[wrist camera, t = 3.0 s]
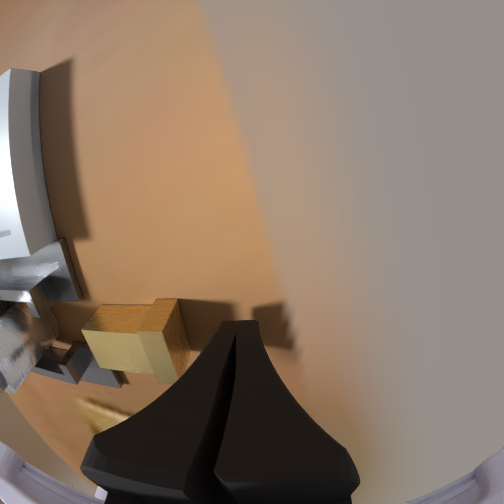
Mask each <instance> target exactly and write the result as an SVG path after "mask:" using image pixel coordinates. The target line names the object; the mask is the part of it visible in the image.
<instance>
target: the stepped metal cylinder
mask: <svg viewBox="0 0 504 504" xmlns="http://www.w3.org/2000/svg"><path fill="white" fill-rule="evenodd" d="M59 333H60V329H59V324H58V321H57V319H56V317H55V315H54V313H53V312H52V310H51V309H50V308H49V309H48V310H47V311H46V312H45V313H44V314H43V315H42V316H41V317H40V318H37V317H33V316H32V314H31V312H30V309H29V307H28V305H27V302H16V303H15V304H14V305H13V306H12V307H11V308H10V309H9V310H8V311H7V312H5V313H4V314H3V315H2V316H1V317H0V396H1V395H2V394H3V392H4V391H7V392H9V393H11V394H15V392H16V391H17V389H18V388H19V387H20V385H21V384H22V382H23V381H24V380H25V378H26V377H27V376H28V374H29V373H30V372H31V370H32V369H33V368H34V366H35V365H36V364H37V362H38V361H39V360H40V358H41V357H42V356H43V355H44V353H45V352H46V351H47V350H48V348H49V347H50V346H51V345H52V343H53V342H54V341H55V340H56V339H57V337H58V336H59Z"/></svg>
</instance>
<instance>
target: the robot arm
mask: <svg viewBox="0 0 504 504" xmlns="http://www.w3.org/2000/svg"><path fill="white" fill-rule="evenodd" d="M80 469H81V471H82V473H83V474H84V475H85V476H86V477H87V478H88V479H90V480H91V481H92V482H94V483H95V484H96V485H98V488H97V491H96V494H95V497H93V496H91V495H88V494H86V493H84V492H81V491H79V490H77V489H75V488H73V487H71V486H68V485H66V484H64V483H62V482H60V481H59V480H56V479H55V478H53V477H51V476H49V475H47V474H46V473H44V472H42V471H40V470H38V469H37V468H35V467H33V466H32V465H30V464H29V463H27V462H26V461H24V459H23V458H22V457H20V456H19V455H18V454H17V453H16V452H15V451H13V450H12V449H11V448H9V447H8V446H7V445H5V444H4V443H2V442H1V441H0V499H1V500H2V501H3V502H4V503H5V504H352V500H351V494H352V493H353V492H354V491H355V489H356V488H357V487H358V486H359V484H360V478H359V474H358V471H357V469H356V466H355V464H354V462H353V460H352V458H351V457H350V455H349V453H348V452H347V450H346V448H344V447H343V446H342V445H341V444H339V443H338V442H337V441H336V440H334V439H333V438H332V437H331V436H330V435H328V434H327V433H326V432H325V431H324V430H323V429H322V428H321V427H320V426H319V425H318V424H317V423H316V422H315V421H314V420H313V419H312V418H311V417H310V416H309V415H308V414H307V413H306V411H305V410H304V409H303V408H302V407H301V406H300V405H299V404H298V402H297V401H296V400H295V398H294V397H293V396H292V395H291V393H290V392H289V390H288V389H287V388H286V386H285V385H284V383H283V382H282V380H281V379H280V377H279V375H278V374H277V372H276V370H275V368H274V366H273V365H272V363H271V361H270V359H269V357H268V354H267V352H266V350H265V348H264V345H263V342H262V339H261V336H260V333H259V326H258V322H257V321H256V320H240V321H223V322H222V323H221V324H220V326H219V327H218V329H217V330H216V332H215V334H214V335H213V337H212V338H211V340H210V341H209V342H208V344H207V345H206V347H205V348H204V349H203V351H202V352H201V353H200V355H199V356H198V357H197V359H196V360H195V361H194V362H193V363H192V365H191V366H190V367H189V368H188V369H187V370H186V372H185V373H184V374H183V375H182V376H181V377H180V378H179V379H178V380H177V381H176V382H175V383H174V384H173V385H172V386H171V387H170V388H169V389H168V390H167V391H165V392H164V393H163V394H162V395H161V396H159V397H158V398H157V399H156V400H155V401H153V402H152V403H151V404H149V405H148V406H147V407H145V408H144V409H142V410H141V411H139V412H138V413H136V414H135V415H133V416H132V417H130V418H128V419H127V420H125V421H123V422H121V423H119V424H118V425H115V426H113V427H111V428H109V429H107V430H105V431H103V432H101V433H99V434H96V435H94V437H93V439H92V441H91V443H90V445H89V447H88V449H87V452H86V454H85V457H84V459H83V462H82V464H81V467H80ZM403 504H504V448H502V449H501V450H500V451H498V452H497V453H495V454H494V455H492V456H491V457H489V458H488V459H486V460H485V461H484V462H482V463H481V464H480V465H479V466H478V467H477V468H475V470H474V471H472V472H470V473H469V474H467V475H465V476H463V477H461V478H460V479H458V480H456V481H454V482H452V483H450V484H448V485H446V486H444V487H442V488H440V489H437V490H435V491H433V492H431V493H429V494H426V495H424V496H421V497H419V498H416V499H414V500H411V501H408V502H406V503H403Z"/></svg>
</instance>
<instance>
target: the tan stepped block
mask: <svg viewBox="0 0 504 504" xmlns="http://www.w3.org/2000/svg"><path fill="white" fill-rule="evenodd" d="M81 330H82V333H83V335H84V337H85V339H86V341H87V343H88V345H89V347H90V349H91V351H92V353H93V355H94V357H95V359H96V361H97V363H98V364H99V366H100V368H105V369H112V370H119V371H127V372H135V373H145V374H155V376H156V378H157V381H158V383H168V384H174V383H175V382H176V381H177V380H178V379H179V378H180V377H181V376H182V375H183V374H184V372H185V368H186V365H187V362H188V358H189V355H190V352H191V347H190V344H189V340H188V337H187V333H186V330H185V326H184V322H183V318H182V314H181V311H180V307H179V303H178V299H156V300H155V301H154V303H153V305H101V306H100V307H99V308H98V310H97V311H96V312H95V313H94V314H93V316H92V317H91V318H90V319H89V321H88V322H87V323H86V324H85V325H84V327H83V328H82V329H81Z"/></svg>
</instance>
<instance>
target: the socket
mask: <svg viewBox="0 0 504 504" xmlns="http://www.w3.org/2000/svg"><path fill="white" fill-rule="evenodd" d="M82 298H83V295H82V292H81V289H80V287H79V284H78V281H77V278H76V275H75V272H74V269H73V265H72V262H71V259H70V256H69V252H68V249H67V245H66V241H65V238H60V239H56V240H55V241H53V242H51V243H50V244H48V245H47V246H45V247H44V248H42V249H40V250H39V251H37V252H36V253H34V254H33V255H31V256H26V257H17V258H8V259H0V317H1V316H2V315H3V314H4V313H5V312H7V311H8V310H9V309H10V308H11V307H12V306H13V305H14V304H15V303H14V301H17V302H27V305H28V307H29V309H30V312H31V314H32V316H33V317H37V318H40V317H41V316H42V315H43V314H44V313H45V312H46V311H47V310H48V309H49V308H50V307H51V306H52V305H53V304H54V303H55V302H56V301H80V300H81V299H82ZM31 371H32V372H35V373H38V374H41V375H44V376H48V377H51V378H54V379H58V380H61V381H65V382H69V383H72V384H76V385H77V384H78V383H79V381H80V380H81V381H86V382H91V383H95V384H100V385H106V386H111V387H117V388H121V387H122V385H123V382H122V380H121V378H120V377H119V375H118V373H117V371H116V370H112V369H105V368H100V366H99V364H98V363H97V361H96V359H95V357H94V355H93V353H92V351H91V349H90V347H89V345H88V344H86V343H78V342H74V344H73V345H72V346H71V348H70V349H69V350H62V349H57V348H52V347H49V348H48V350H47V351H46V352H45V353H44V355H43V356H42V357H41V358H40V360H39V361H38V362H37V364H36V365H35V366H34V368H33V369H32V370H31Z"/></svg>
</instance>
